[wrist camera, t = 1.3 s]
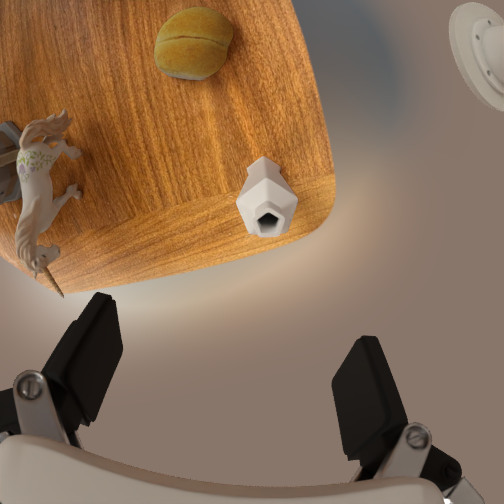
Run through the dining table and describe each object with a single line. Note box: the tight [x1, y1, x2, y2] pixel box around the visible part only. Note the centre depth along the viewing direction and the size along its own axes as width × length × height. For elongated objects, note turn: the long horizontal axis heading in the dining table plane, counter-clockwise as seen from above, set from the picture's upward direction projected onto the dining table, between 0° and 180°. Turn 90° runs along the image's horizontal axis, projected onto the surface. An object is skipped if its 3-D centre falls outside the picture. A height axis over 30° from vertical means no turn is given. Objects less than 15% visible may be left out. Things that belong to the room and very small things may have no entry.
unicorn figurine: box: [15, 109, 84, 298], centre depth 26 cm, size 7×20×13 cm, turn 8°
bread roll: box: [154, 7, 234, 81], centre depth 23 cm, size 8×9×4 cm
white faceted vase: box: [236, 156, 298, 237], centre depth 25 cm, size 5×4×15 cm
